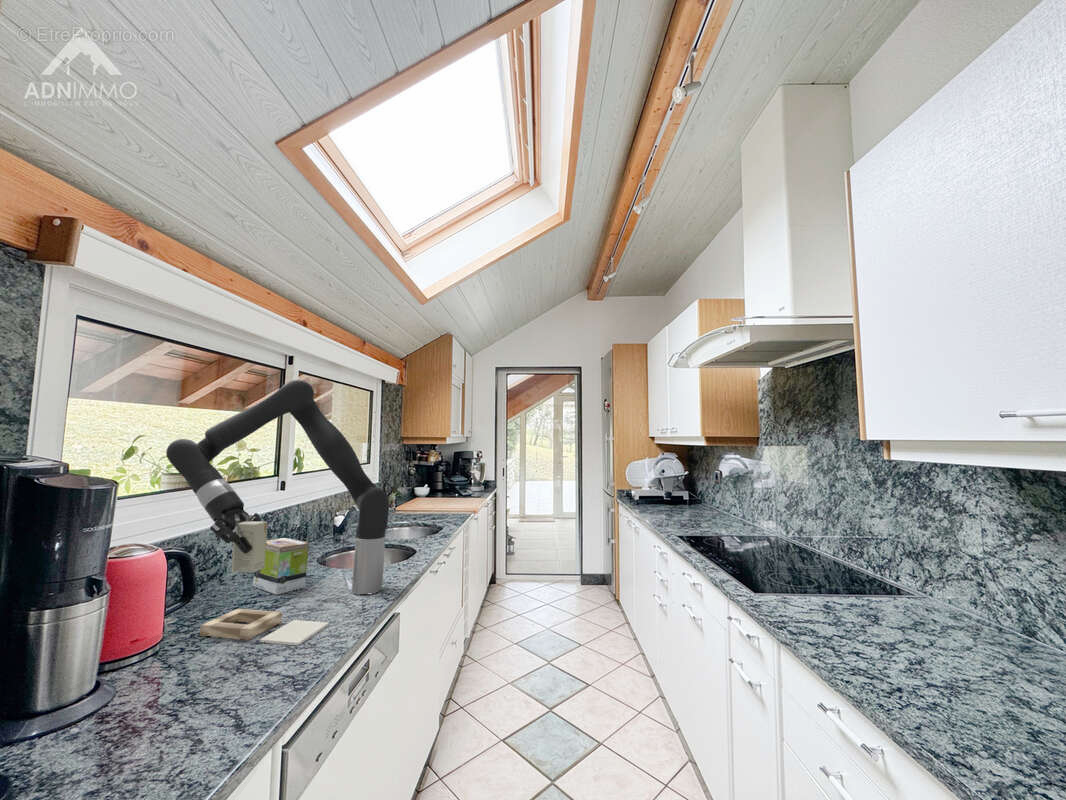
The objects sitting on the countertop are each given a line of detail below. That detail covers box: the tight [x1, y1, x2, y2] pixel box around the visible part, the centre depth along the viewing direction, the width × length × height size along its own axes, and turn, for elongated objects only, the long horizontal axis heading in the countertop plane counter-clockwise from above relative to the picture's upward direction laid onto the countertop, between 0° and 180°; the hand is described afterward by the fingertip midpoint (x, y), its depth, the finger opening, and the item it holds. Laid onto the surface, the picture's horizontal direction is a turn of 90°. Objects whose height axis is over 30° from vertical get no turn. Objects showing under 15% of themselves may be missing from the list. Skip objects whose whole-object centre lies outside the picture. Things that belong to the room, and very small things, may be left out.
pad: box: [259, 619, 330, 646], centre depth 107 cm, size 12×10×1 cm
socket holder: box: [199, 608, 283, 641], centre depth 109 cm, size 11×13×2 cm
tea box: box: [252, 537, 310, 596], centre depth 142 cm, size 15×10×15 cm, turn 58°
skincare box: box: [231, 521, 268, 573], centre depth 112 cm, size 6×4×12 cm
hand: (256, 548), depth 111 cm, fingers closed on skincare box, 4 cm apart
